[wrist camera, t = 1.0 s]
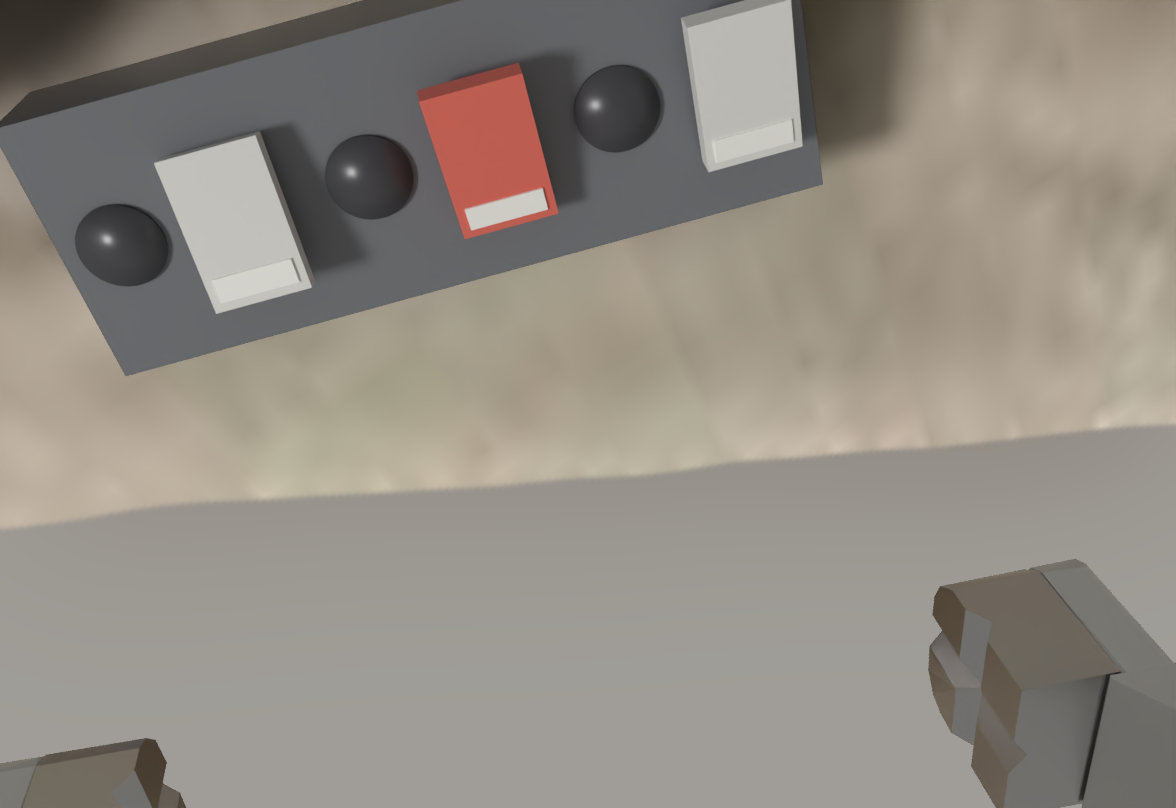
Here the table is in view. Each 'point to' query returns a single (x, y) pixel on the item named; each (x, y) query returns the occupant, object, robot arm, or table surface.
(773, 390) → the table surface
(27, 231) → the table surface
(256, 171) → the rocker
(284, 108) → the strip housing
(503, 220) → the rocker middle
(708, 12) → the rocker
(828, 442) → the table surface
